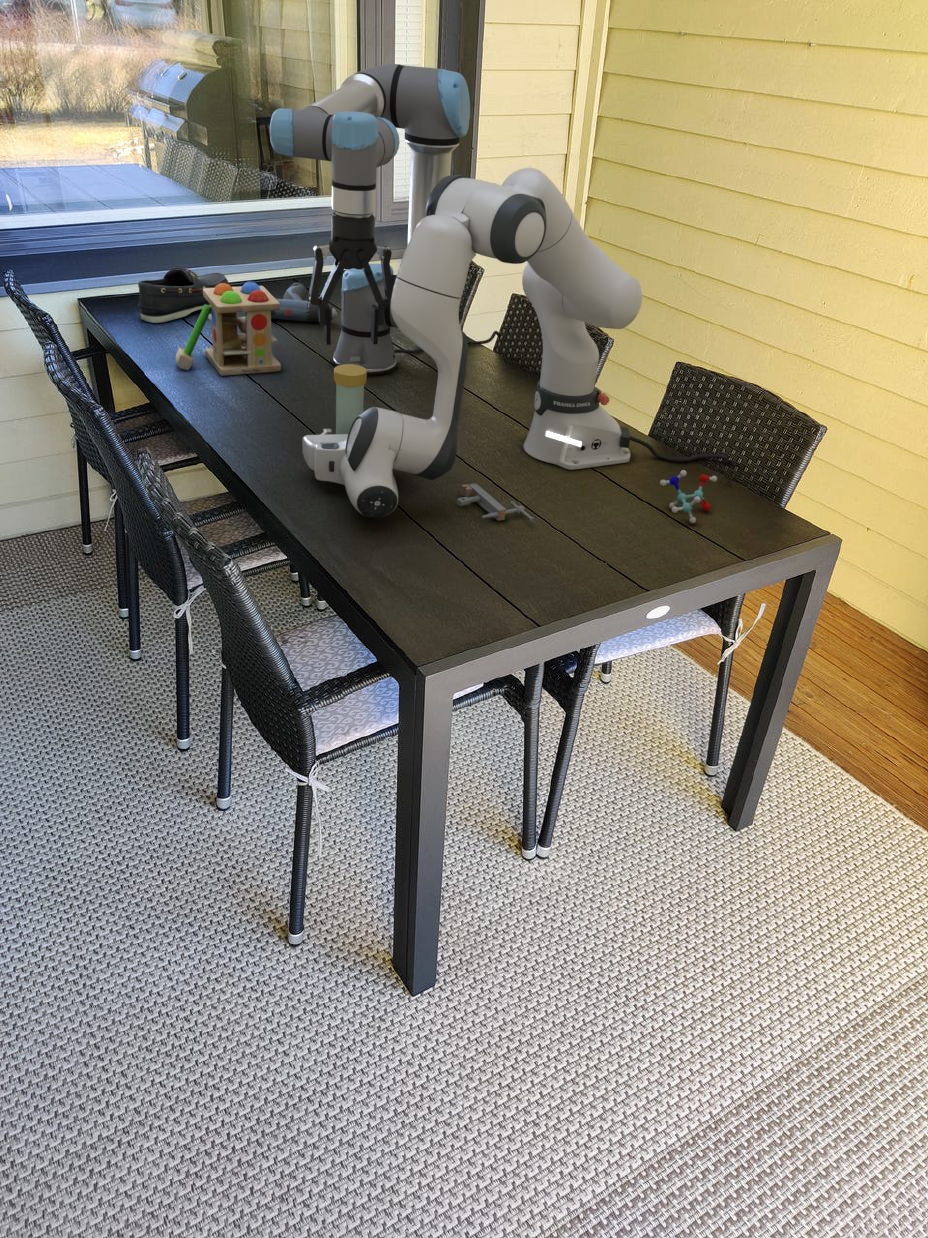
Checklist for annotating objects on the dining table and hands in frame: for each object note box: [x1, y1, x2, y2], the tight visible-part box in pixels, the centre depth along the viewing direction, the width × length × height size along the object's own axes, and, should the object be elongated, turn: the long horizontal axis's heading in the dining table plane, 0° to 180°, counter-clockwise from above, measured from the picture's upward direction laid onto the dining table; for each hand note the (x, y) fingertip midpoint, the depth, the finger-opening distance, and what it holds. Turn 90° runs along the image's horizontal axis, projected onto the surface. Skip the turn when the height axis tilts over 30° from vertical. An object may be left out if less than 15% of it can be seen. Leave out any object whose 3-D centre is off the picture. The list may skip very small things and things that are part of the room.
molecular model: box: [659, 469, 718, 524], centre depth 185 cm, size 12×10×10 cm
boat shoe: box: [137, 266, 230, 324], centre depth 260 cm, size 13×33×10 cm, turn 147°
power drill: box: [271, 282, 338, 322], centre depth 265 cm, size 5×19×20 cm
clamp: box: [456, 483, 535, 523], centre depth 180 cm, size 15×2×10 cm
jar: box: [335, 383, 365, 434], centre depth 190 cm, size 5×5×17 cm
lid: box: [333, 364, 368, 387], centre depth 186 cm, size 6×6×2 cm
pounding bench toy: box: [174, 281, 282, 377], centre depth 225 cm, size 23×14×18 cm, turn 116°
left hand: (350, 341), depth 182 cm, fingers open, 8 cm apart
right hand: (351, 431), depth 190 cm, fingers open, 8 cm apart
